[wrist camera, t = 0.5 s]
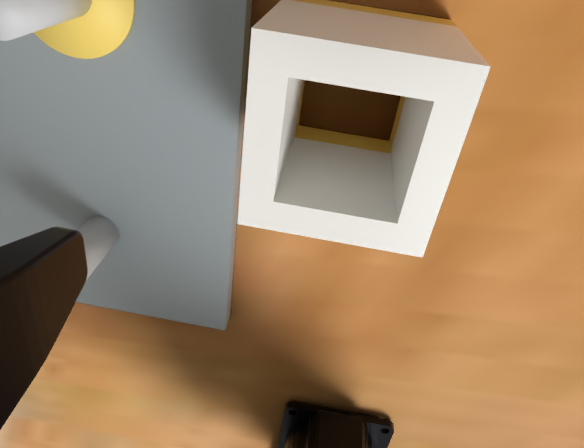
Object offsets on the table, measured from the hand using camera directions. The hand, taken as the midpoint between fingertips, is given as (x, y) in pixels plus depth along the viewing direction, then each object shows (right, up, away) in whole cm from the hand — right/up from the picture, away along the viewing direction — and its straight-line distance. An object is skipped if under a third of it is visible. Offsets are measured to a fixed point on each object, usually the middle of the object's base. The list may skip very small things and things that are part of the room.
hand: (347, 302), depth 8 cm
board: (-9, +6, +12) cm, 16 cm away
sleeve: (+1, +6, +10) cm, 12 cm away
